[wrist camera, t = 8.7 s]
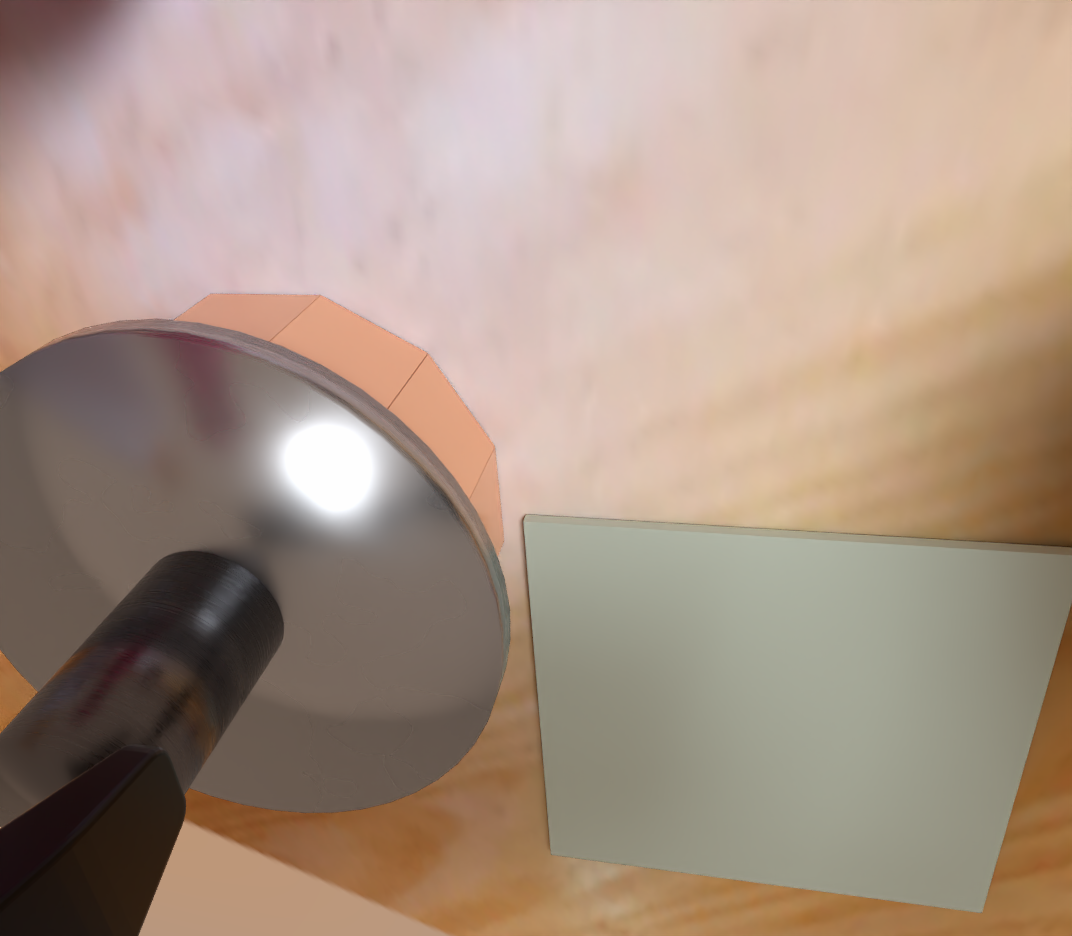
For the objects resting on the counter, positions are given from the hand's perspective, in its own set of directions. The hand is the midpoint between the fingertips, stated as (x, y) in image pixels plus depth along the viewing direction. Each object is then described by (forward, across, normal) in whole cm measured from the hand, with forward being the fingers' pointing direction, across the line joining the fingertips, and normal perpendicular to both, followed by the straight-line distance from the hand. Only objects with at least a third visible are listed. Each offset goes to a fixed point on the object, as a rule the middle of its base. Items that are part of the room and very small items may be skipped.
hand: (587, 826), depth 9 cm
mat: (+12, -2, +10) cm, 16 cm away
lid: (+8, +9, +4) cm, 13 cm away
